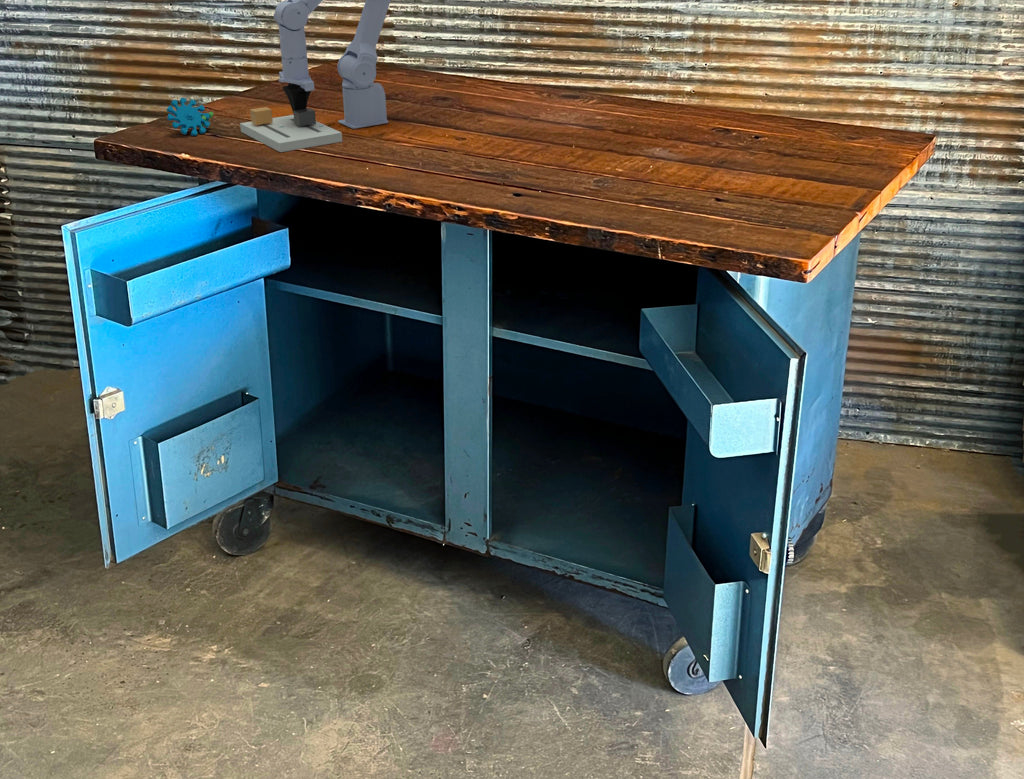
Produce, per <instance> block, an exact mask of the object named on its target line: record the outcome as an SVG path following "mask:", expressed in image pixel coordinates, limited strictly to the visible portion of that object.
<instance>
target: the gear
mask: <svg viewBox="0 0 1024 779" xmlns="http://www.w3.org/2000/svg"><path fill="white" fill-rule="evenodd" d="M178 102H179V103H180V106H179V105H178ZM186 102H187V98H186V97H180V99H179V101H178V100H177V99H173V100H172V101H171V102H170V104H171V105H169V106H168V107H167V108H166V112H168V114H167V121H170V122H171V121H174V122H172V124H171V125H172V128H173V129H179V127H180V133H181V134H183V135H187V133H188V130H190V129H192V130H191V132H190V136H193V137H196V136H197V135H198V131H197V128H198V129H199V134H200V135H201V134H205V133H206V131H207V129H208V128H209V127H210V124H211V122H210V119H212V118H213V116H214V112H213V111H209V112H206V113H203V112H204V111H205V109H206V108H205V106H204V105H203V104H200V105H199V106H197V107H194V106H196V104H197V101H196V100H195V99H190V101H189V104H187V105H186ZM173 107H174V108H173ZM174 109H175V110H174Z"/></svg>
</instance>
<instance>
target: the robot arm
mask: <svg viewBox="0 0 1024 779" xmlns="http://www.w3.org/2000/svg"><path fill="white" fill-rule="evenodd" d="M322 2H323V0H282V1H280V2H279V3H278V4H277V5H276V7H275V11H274V13H273V18H274V21H275V22H276V24H278V31H279V34H278V35H279V45H280V46H279V47H280V57H281V65H282V66H281V67H282V68H281V69H282V71H279V72H278V75H279V78H278V82H279V83H288V84H287V85H285V86H282V90H283V92H284V94H285V96H286V98H287V100H288V102H289V105H290V108H291V110H292V112H293V111H294V110H301V109H307V106H308V101H309V97H310V95H311V92H312V91H315V82H314V81H313V80H312V78H311V76H310V75H309V74H310V73H309V63H308V52H307V51H308V50H307V40H306V32H305V26H306V25H307V23H308V19H309V15H310V14H312V13H313V11H314V10H315V9H316V8H317V7H318V6H320V4H321V3H322ZM390 4H391V0H365V2H364V5H363V7H362V8H363V9H362V11H361V14H360V15H361V16H360V18H359V21H358V25H357V28H356V30H355V34H354V37H353V40H352V41H351V42H350V43H349V44H348V45H347V47H346V50H345V51H344V53H343V55H342V56H340V58H339V60H338V62H337V66H336V67H337V71H338V74H339V76H340V77H341V78H342V84H341V86H342V101H343V102H342V103H343V113H344V114H343V115H344V119H340V120H338V121H337V123H339V124H341V125H344V126H346V127H348V128H351V129H360V128H366V127H371V126H372V127H373V126H378V125H384V124H389V120H388V116H387V103H386V102H387V101H386V92H385V89H384V87H383V85H382V84H381V83H378V82H374V81H375V80H376V76H377V65H376V64H377V62H378V54H377V49H376V47H377V44H378V42H379V39H380V35H381V32H382V29H383V26H384V22H385V19H386V16H387V13H388V10H389V6H390Z"/></svg>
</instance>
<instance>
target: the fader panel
mask: <svg viewBox="0 0 1024 779" xmlns="http://www.w3.org/2000/svg"><path fill="white" fill-rule="evenodd" d="M272 119H273V123H267V124H261V125H255V124H253V123H251V121H245V122H240V123H239V125H240V133H242V134H245V135H246V136H248V137H250V138H252V139H253V140H256V141H258V142H259V143H261V144H264V145H265V146H267V147H269V148H272V149H273V150H274V151H277V152H280V153H283V152H284V153H285V152H290V151H295V150H296V151H297V150H302V149H307V148H312V147H319V146H324V145H330V144H336V143H342V142H343V134H342V133H343V132H342V131H339V130H336V129H335V128H332V127H330V126H328V125H325V124H324V123H321V122H319V121H317V120H316V124H312V125H306V126H298V125H296V124H294V114H290V115H284V116H279V117H278V116H277V117H272Z"/></svg>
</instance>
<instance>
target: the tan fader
mask: <svg viewBox="0 0 1024 779" xmlns="http://www.w3.org/2000/svg"><path fill="white" fill-rule="evenodd" d="M249 113H250V114H249V116H250V122H251V123H253V124H255V125H261V124H267V123H273V119H272V118H273V111H272V109H271V108H270V107H267V106H264V107H258V108H251V109H249Z"/></svg>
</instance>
